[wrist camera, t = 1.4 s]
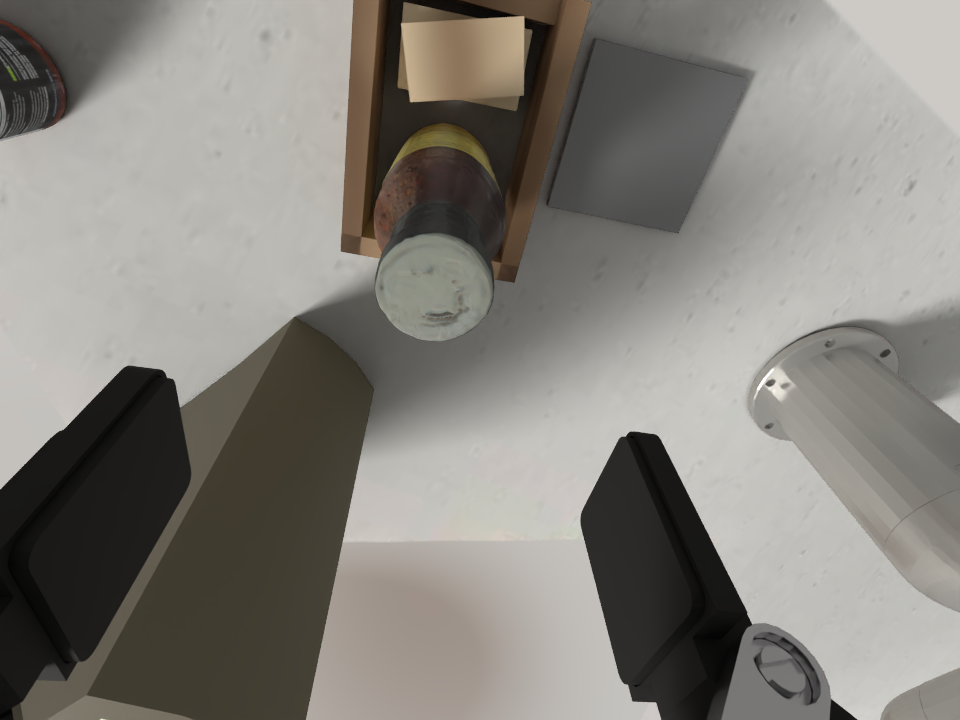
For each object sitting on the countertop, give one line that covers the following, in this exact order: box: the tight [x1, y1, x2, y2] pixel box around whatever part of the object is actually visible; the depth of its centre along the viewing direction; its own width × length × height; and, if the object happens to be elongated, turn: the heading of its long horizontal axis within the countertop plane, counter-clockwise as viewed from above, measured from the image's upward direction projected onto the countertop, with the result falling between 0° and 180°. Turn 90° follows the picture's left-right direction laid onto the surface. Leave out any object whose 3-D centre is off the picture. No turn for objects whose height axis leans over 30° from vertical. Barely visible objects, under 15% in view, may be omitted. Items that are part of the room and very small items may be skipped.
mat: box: [547, 39, 748, 233], centre depth 32 cm, size 10×10×1 cm
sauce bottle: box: [374, 123, 506, 341], centre depth 24 cm, size 7×6×20 cm
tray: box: [341, 0, 592, 283], centre depth 29 cm, size 11×15×5 cm
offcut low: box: [398, 2, 533, 111], centre depth 28 cm, size 7×4×3 cm, turn 80°
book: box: [20, 317, 374, 720], centre depth 32 cm, size 22×9×28 cm, turn 126°
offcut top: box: [401, 16, 524, 102], centre depth 25 cm, size 6×3×3 cm, turn 93°
